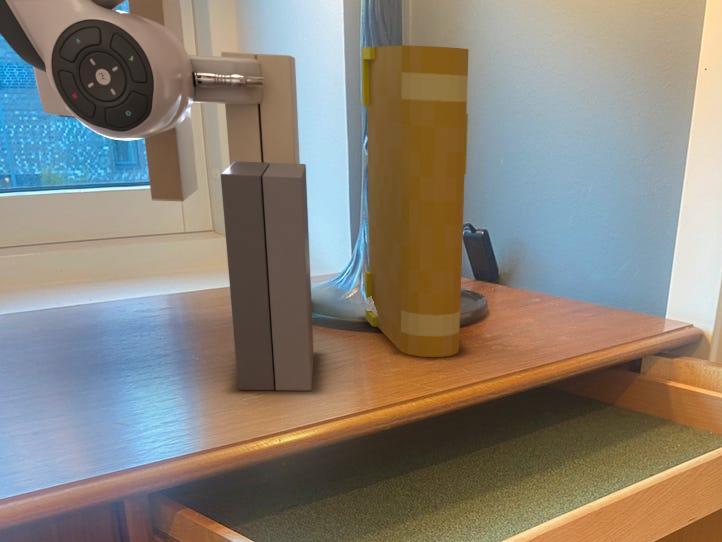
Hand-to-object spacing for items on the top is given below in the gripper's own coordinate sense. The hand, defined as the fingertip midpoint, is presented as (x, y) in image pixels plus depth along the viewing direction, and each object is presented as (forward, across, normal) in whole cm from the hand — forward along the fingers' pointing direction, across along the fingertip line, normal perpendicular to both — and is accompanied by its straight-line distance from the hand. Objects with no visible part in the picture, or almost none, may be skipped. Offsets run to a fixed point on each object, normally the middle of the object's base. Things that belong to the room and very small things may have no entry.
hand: (164, 76), depth 94 cm
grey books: (-27, -11, +22) cm, 36 cm away
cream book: (-1, 0, +10) cm, 11 cm away
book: (-13, -24, +22) cm, 35 cm away
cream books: (-1, -9, +22) cm, 24 cm away
